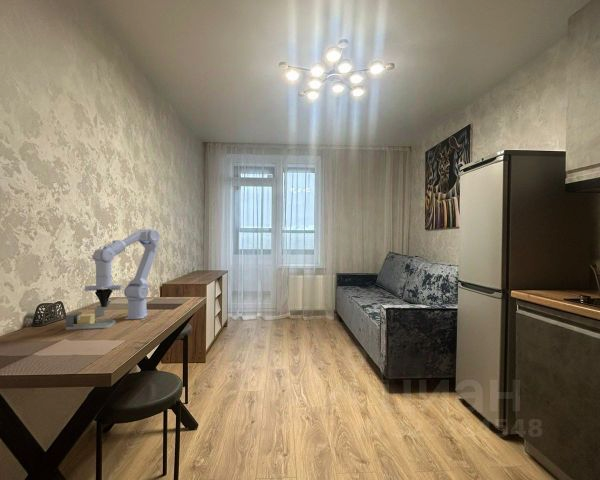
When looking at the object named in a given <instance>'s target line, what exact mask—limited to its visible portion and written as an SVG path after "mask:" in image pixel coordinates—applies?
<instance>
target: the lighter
mask: <svg viewBox="0 0 600 480" xmlns="http://www.w3.org/2000/svg"><path fill="white" fill-rule="evenodd" d="M111 302H112V299H110V298H109V299H108V302H107V306H106V307H101V304H100V305H99V304H98V305H96V307H94V313H95V318H97V317H105V316H106V309H108V307H109V306H110V304H111Z"/></svg>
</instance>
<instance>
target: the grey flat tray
mask: <svg viewBox="0 0 600 480" xmlns="http://www.w3.org/2000/svg"><path fill="white" fill-rule="evenodd" d="M116 323H117V320H114V319H113V318H111V319H110V318H108V319H95V323H84V324H73V327H66V326H65V330H66V331H69V330H87V329H88V330H90V329H91V330H92V329H109V328H110V327H112V326H113V325H115V324H116Z"/></svg>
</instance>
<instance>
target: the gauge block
mask: <svg viewBox="0 0 600 480" xmlns="http://www.w3.org/2000/svg"><path fill="white" fill-rule="evenodd" d="M95 320H96V317H95V312H93V313H81V315H79V316H77V324H84V323H95Z"/></svg>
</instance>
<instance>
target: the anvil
mask: <svg viewBox="0 0 600 480" xmlns="http://www.w3.org/2000/svg"><path fill="white" fill-rule="evenodd" d="M81 314H82V311H74V312H71V313H69V314H67V315H66V314H65V328H66V327H73V324H77V316H79V315H81Z"/></svg>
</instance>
